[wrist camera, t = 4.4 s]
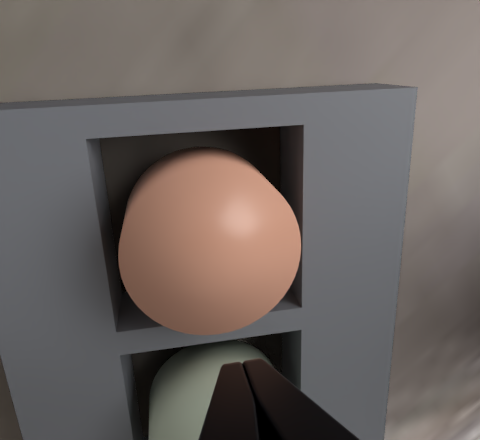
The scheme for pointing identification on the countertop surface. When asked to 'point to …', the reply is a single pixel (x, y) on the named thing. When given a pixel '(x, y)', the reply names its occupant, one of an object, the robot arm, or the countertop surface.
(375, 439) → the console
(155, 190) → the button terracotta
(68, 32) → the countertop surface
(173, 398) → the button sage
